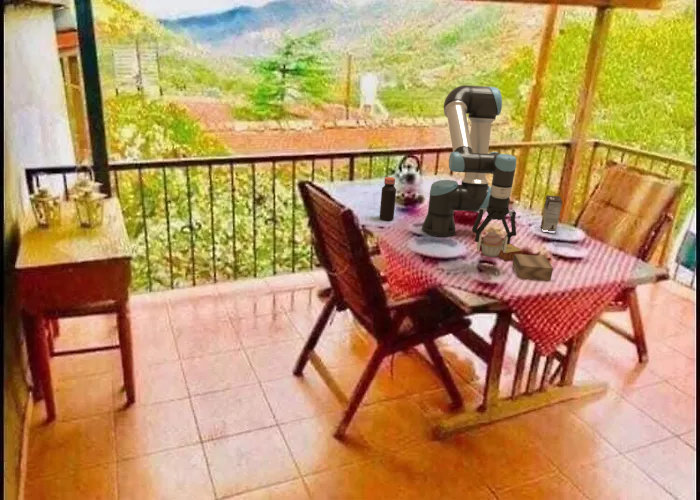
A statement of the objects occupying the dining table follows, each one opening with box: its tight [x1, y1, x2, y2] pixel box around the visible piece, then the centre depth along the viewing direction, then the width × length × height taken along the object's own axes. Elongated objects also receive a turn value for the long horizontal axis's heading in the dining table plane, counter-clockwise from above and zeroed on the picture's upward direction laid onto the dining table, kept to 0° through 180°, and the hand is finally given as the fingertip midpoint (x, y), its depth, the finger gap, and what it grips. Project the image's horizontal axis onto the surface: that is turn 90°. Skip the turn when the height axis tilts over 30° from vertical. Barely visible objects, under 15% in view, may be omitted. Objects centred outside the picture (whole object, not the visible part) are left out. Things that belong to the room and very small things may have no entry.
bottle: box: [379, 176, 397, 222], centre depth 267 cm, size 7×7×20 cm
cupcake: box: [480, 230, 504, 258], centre depth 221 cm, size 9×9×10 cm
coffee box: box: [540, 194, 563, 232], centre depth 266 cm, size 9×6×16 cm
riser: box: [512, 253, 554, 281], centre depth 220 cm, size 12×12×5 cm
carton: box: [497, 238, 524, 262], centre depth 238 cm, size 8×16×4 cm, turn 24°
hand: (490, 250), depth 222 cm, fingers closed on cupcake, 9 cm apart
